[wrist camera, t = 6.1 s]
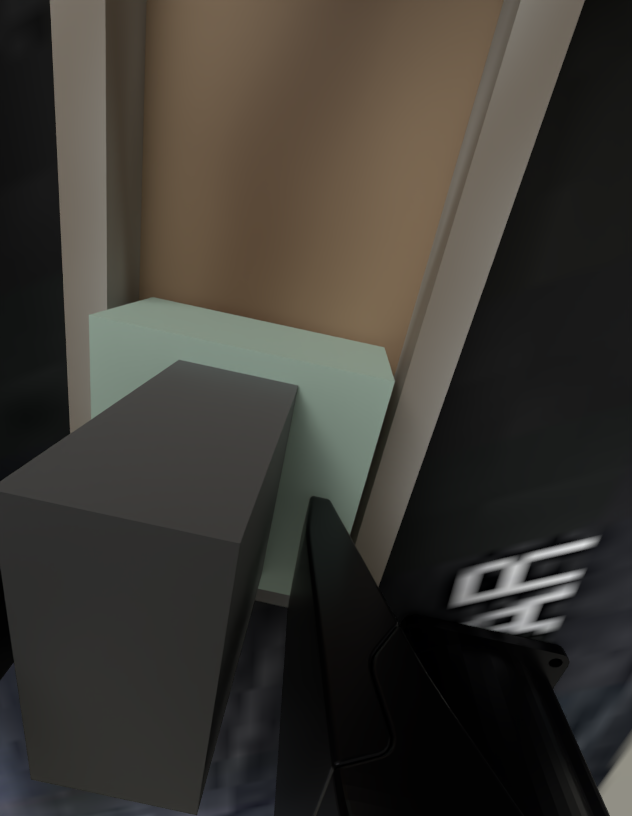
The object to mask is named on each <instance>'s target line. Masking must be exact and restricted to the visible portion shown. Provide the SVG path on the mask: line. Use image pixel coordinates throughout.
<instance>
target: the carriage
mask: <svg viewBox="0 0 632 816" xmlns="http://www.w3.org/2000/svg"><path fill="white" fill-rule="evenodd" d="M89 348H90V391H91V420H90V421H88V422H87V423H85V424H84V425H82V426H81V427H79V428H78V429H77V430H75V431H74V432H72V433H71V434H69V435H68V436H66V437H65V438H63V439H62V440H60V441H59V442H57V443H56V444H55V445H53V446H52V447H50V448H49V449H47V450H46V451H44V452H43V453H41V454H40V455H38V456H37V457H35V458H34V459H33V460H31V461H30V462H28V463H27V464H25V465H24V466H22V467H21V468H19V469H18V470H16V471H15V472H13V473H12V474H11V475H9V476H8V477H6V478H5V479H3V480H2V481H0V569H1V575H2V582H3V589H4V596H5V603H6V610H7V617H8V624H9V631H10V637H11V644H12V651H13V658H14V665H15V672H16V679H17V686H18V693H19V699H20V706H21V713H22V720H23V727H24V734H25V741H26V748H27V755H28V761H29V768H30V775H31V779H32V780H36V781H41V782H45V783H50V784H55V785H59V786H64V787H69V788H73V789H78V790H83V791H87V792H92V793H96V794H101V795H106V796H110V797H115V798H120V799H124V800H129V801H134V802H138V803H143V804H147V805H152V806H157V807H161V808H166V809H171V810H175V811H180V812H185V813H189V814H194V815H197V812H198V809H199V805H200V801H201V798H202V794H203V790H204V786H205V783H206V779H207V775H208V772H209V768H210V764H211V761H212V757H213V753H214V749H215V746H216V742H217V738H218V735H219V731H220V727H221V723H222V720H223V716H224V712H225V709H226V705H227V701H228V698H229V694H230V690H231V686H232V683H233V679H234V675H235V672H236V668H237V664H238V661H239V657H240V653H241V649H242V646H243V642H244V638H245V635H246V631H247V627H248V624H249V620H250V616H251V612H252V609H253V605H254V601H255V598H256V594H257V590H258V589H262V590H267V591H271V592H276V593H280V594H285V595H290V591H291V586H292V581H293V576H294V570H295V565H296V560H297V555H298V549H299V544H300V539H301V534H302V529H303V525H304V520H305V516H306V512H307V508H308V503H309V499H310V497H311V496H317V497H321V498H326V499H329V500H330V501H331V503H332V504H333V506H334V508H335V510H336V512H337V513H338V515H339V517H340V519H341V521H342V522H343V524H344V526H345V528H346V530H347V531H348V533H349V535H350V533H351V529H352V526H353V522H354V519H355V516H356V512H357V509H358V505H359V502H360V499H361V495H362V492H363V488H364V485H365V482H366V478H367V475H368V471H369V468H370V465H371V461H372V458H373V454H374V451H375V448H376V444H377V441H378V437H379V434H380V431H381V427H382V424H383V420H384V417H385V413H386V410H387V407H388V403H389V400H390V396H391V393H392V390H393V386H394V383H395V380H394V377H393V374H392V370H391V367H390V364H389V361H388V357H387V354H386V351H385V348H384V347H380V346H376V345H371V344H367V343H362V342H357V341H353V340H348V339H344V338H339V337H334V336H330V335H325V334H321V333H316V332H311V331H307V330H302V329H297V328H293V327H288V326H284V325H279V324H274V323H270V322H265V321H261V320H256V319H251V318H247V317H242V316H238V315H233V314H228V313H224V312H219V311H215V310H210V309H205V308H201V307H196V306H192V305H187V304H182V303H178V302H173V301H169V300H164V299H159V298H155V297H151V298H148V299H144V300H140V301H137V302H133V303H130V304H126V305H122V306H119V307H115V308H112V309H108V310H105V311H101V312H97V313H94V314H90V315H89Z"/></svg>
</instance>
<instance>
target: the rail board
mask: <svg viewBox="0 0 632 816" xmlns="http://www.w3.org/2000/svg"><path fill="white" fill-rule="evenodd" d="M584 1H585V0H50V8H51V29H52V51H53V72H54V93H55V115H56V136H57V158H58V179H59V200H60V222H61V243H62V265H63V286H64V307H65V329H66V350H67V372H68V393H69V415H70V434H71V433H72V432H74V431H75V430H77V429H78V428H79V427H81V426H82V425H84V424H85V423H87V422H88V421H90V420H91V391H90V348H89V315H90V314H94V313H97V312H101V311H105V310H108V309H112V308H115V307H119V306H122V305H126V304H130V303H133V302H137V301H140V300H144V299H148V298H151V297H155V298H159V299H164V300H169V301H173V302H178V303H182V304H187V305H192V306H196V307H201V308H205V309H210V310H215V311H219V312H224V313H228V314H233V315H238V316H242V317H247V318H251V319H256V320H261V321H265V322H270V323H274V324H279V325H284V326H288V327H293V328H297V329H302V330H307V331H311V332H316V333H321V334H325V335H330V336H334V337H339V338H344V339H348V340H353V341H357V342H362V343H367V344H371V345H376V346H380V347H384V348H385V351H386V354H387V357H388V361H389V364H390V367H391V370H392V374H393V377H394V380H395V383H394V386H393V390H392V393H391V396H390V400H389V403H388V407H387V410H386V413H385V417H384V420H383V424H382V427H381V431H380V434H379V437H378V441H377V444H376V448H375V451H374V454H373V458H372V461H371V465H370V468H369V471H368V475H367V478H366V482H365V485H364V488H363V492H362V495H361V499H360V502H359V505H358V509H357V512H356V516H355V519H354V522H353V526H352V529H351V533H350V537H351V539H352V540H353V542H354V544H355V546H356V548H357V549H358V551H359V553H360V555H361V557H362V559H363V560H364V562H365V564H366V566H367V568H368V569H369V571H370V573H371V575H372V577H373V578H374V580H375V582H376V584H377V586H378V587H379V584H380V581H381V578H382V575H383V572H384V570H385V567H386V564H387V561H388V558H389V555H390V553H391V550H392V547H393V544H394V541H395V538H396V536H397V533H398V530H399V527H400V524H401V521H402V518H403V516H404V513H405V510H406V507H407V504H408V501H409V499H410V496H411V493H412V490H413V487H414V484H415V481H416V479H417V476H418V473H419V470H420V467H421V464H422V462H423V459H424V456H425V453H426V450H427V447H428V445H429V442H430V439H431V436H432V433H433V430H434V427H435V425H436V422H437V419H438V416H439V413H440V410H441V408H442V405H443V402H444V399H445V396H446V393H447V391H448V388H449V385H450V382H451V379H452V376H453V373H454V371H455V368H456V365H457V362H458V359H459V356H460V354H461V351H462V348H463V345H464V342H465V339H466V337H467V334H468V331H469V328H470V325H471V322H472V319H473V317H474V314H475V311H476V308H477V305H478V302H479V300H480V297H481V294H482V291H483V288H484V285H485V282H486V280H487V277H488V274H489V271H490V268H491V265H492V263H493V260H494V257H495V254H496V251H497V248H498V246H499V243H500V240H501V237H502V234H503V231H504V228H505V226H506V223H507V220H508V217H509V214H510V211H511V209H512V206H513V203H514V200H515V197H516V194H517V192H518V189H519V186H520V183H521V180H522V177H523V174H524V172H525V169H526V166H527V163H528V160H529V157H530V155H531V152H532V149H533V146H534V143H535V140H536V137H537V135H538V132H539V129H540V126H541V123H542V120H543V118H544V115H545V112H546V109H547V106H548V103H549V101H550V98H551V95H552V92H553V89H554V86H555V83H556V81H557V78H558V75H559V72H560V69H561V66H562V64H563V61H564V58H565V55H566V52H567V49H568V47H569V44H570V41H571V38H572V35H573V32H574V29H575V27H576V24H577V21H578V18H579V15H580V12H581V10H582V7H583V4H584ZM289 597H290V595H285V594H280V593H276V592H271V591H267V590H262V589H258V590H257V594H256V598H255V601H260V602H264V603H269V604H274V605H278V606H283V607H288V604H289Z"/></svg>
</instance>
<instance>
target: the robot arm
mask: <svg viewBox="0 0 632 816" xmlns="http://www.w3.org/2000/svg"><path fill="white" fill-rule="evenodd" d="M13 662H14V658H13V651H12V644H11V637H10V631H9V624H8V617H7V610H6V603H5V596H4V589H3V582H2V575H1V569H0V680H1V679H2V677H3V676H4V675H5V673H6V672H7V671H8V669H9V668H10V666H11V665H12V664H13ZM568 665H569V659H568V657H567V655H566V653H565V651H564V649H563V648H562V647H561V646H558V645H555V644H551V643H546V642H541V641H537V640H532V639H528V638H523V637H518V636H514V635H509V634H504V633H500V632H495V631H491V630H486V629H481V628H477V627H472V626H468V625H463V624H458V623H454V622H449V621H444V620H440V619H435V618H431V617H426V616H421V615H409V616H407V617H405V618H404V619H403V621H402V623H401V626H400V627H398V622H397V620H396V618H395V616H394V615H393V613H392V611H391V609H390V607H389V605H388V604H387V602H386V600H385V598H384V596H383V595H382V593H381V591H380V589H379V587H378V586H377V584H376V582H375V580H374V578H373V577H372V575H371V573H370V571H369V569H368V568H367V566H366V564H365V562H364V560H363V559H362V557H361V555H360V553H359V551H358V549H357V548H356V546H355V544H354V542H353V540H352V539H351V537H350V535H349V533H348V531H347V530H346V528H345V526H344V524H343V522H342V521H341V519H340V517H339V515H338V513H337V512H336V510H335V508H334V506H333V504H332V503H331V501H330V500H329V499H326V498H321V497H317V496H311V497H310V499H309V503H308V508H307V512H306V516H305V520H304V525H303V529H302V534H301V539H300V544H299V549H298V555H297V560H296V565H295V570H294V576H293V581H292V586H291V591H290V597H289V604H288V614H287V628H286V643H285V658H284V673H283V689H282V704H281V719H280V734H279V750H278V765H277V780H276V795H275V811H274V816H610V815H609V813H608V810H607V808H606V806H605V804H604V802H603V799H602V797H601V795H600V793H599V790H598V788H597V786H596V784H595V782H594V779H593V777H592V775H591V773H590V770H589V768H588V766H587V764H586V762H585V759H584V757H583V755H582V753H581V750H580V748H579V746H578V744H577V742H576V739H575V737H574V735H573V733H572V730H571V728H570V726H569V724H568V722H567V719H566V717H565V715H564V713H563V710H562V708H561V706H560V704H559V702H558V699H557V697H556V695H555V693H554V690H553V688H554V686H555V685H556V683H557V682H558V680H559V679H560V677H561V676H562V674H563V673H564V671H565V670H566V668H567V667H568Z"/></svg>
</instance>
